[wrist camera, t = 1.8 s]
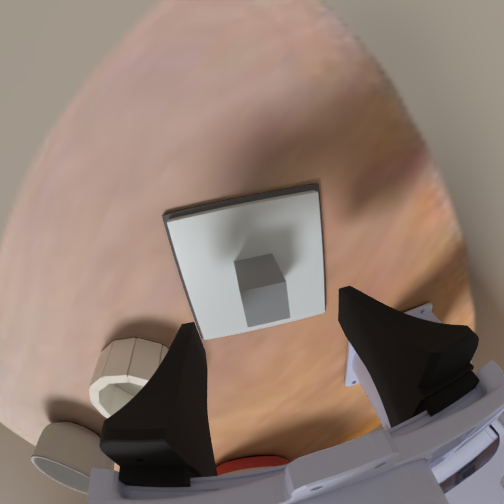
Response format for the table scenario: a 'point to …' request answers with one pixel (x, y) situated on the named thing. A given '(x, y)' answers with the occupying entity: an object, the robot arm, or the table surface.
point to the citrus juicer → (250, 464)
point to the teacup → (70, 455)
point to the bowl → (123, 372)
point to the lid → (252, 263)
